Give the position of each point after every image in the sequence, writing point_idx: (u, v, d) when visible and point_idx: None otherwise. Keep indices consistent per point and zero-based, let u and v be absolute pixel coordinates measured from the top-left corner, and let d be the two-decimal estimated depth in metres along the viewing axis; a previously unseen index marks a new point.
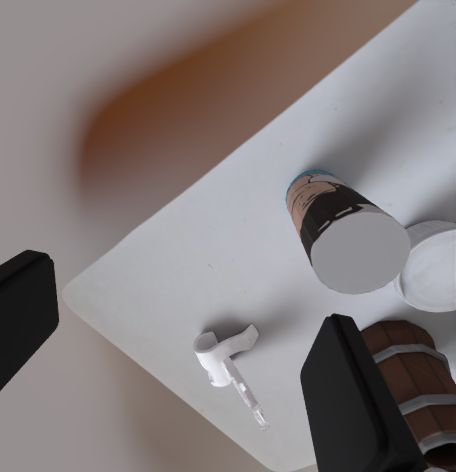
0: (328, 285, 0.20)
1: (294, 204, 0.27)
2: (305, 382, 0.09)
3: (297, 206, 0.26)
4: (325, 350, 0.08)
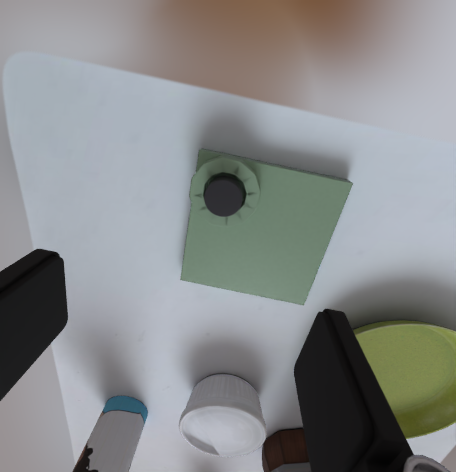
0: None
1: None
2: (298, 376, 0.09)
3: None
4: (317, 344, 0.08)
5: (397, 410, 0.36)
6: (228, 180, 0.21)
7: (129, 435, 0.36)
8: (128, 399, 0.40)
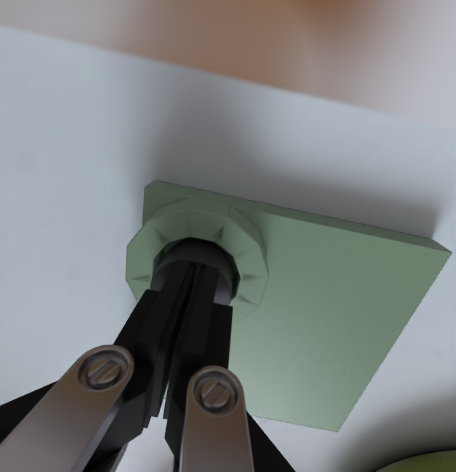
0: None
1: None
2: None
3: None
4: None
5: None
6: (200, 259, 0.10)
7: None
8: None
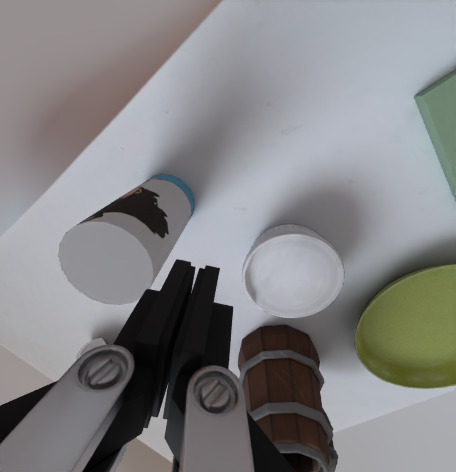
0: (89, 296, 0.20)
1: None
2: None
3: None
4: None
5: (395, 360, 0.39)
6: None
7: (185, 219, 0.28)
8: (188, 190, 0.31)
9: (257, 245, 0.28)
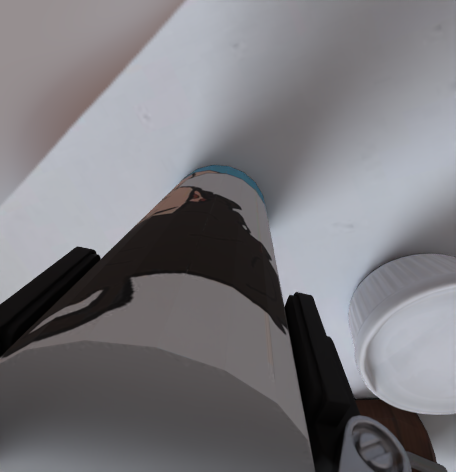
0: None
1: None
2: None
3: None
4: None
5: None
6: None
7: None
8: (260, 192, 0.18)
9: (402, 299, 0.15)
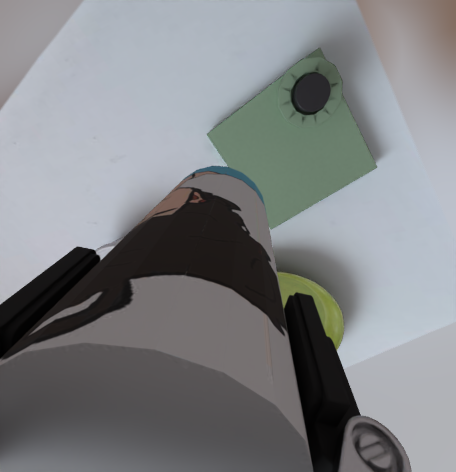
0: None
1: None
2: None
3: None
4: None
5: None
6: (328, 83, 0.25)
7: None
8: (260, 193, 0.18)
9: None
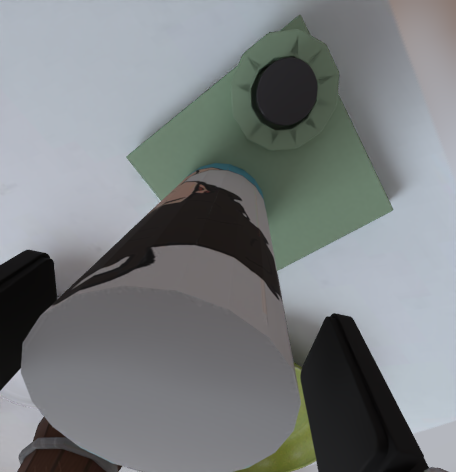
0: (106, 457, 0.08)
1: None
2: (305, 382, 0.09)
3: None
4: (325, 350, 0.08)
5: None
6: (314, 75, 0.14)
7: None
8: (260, 189, 0.19)
9: None
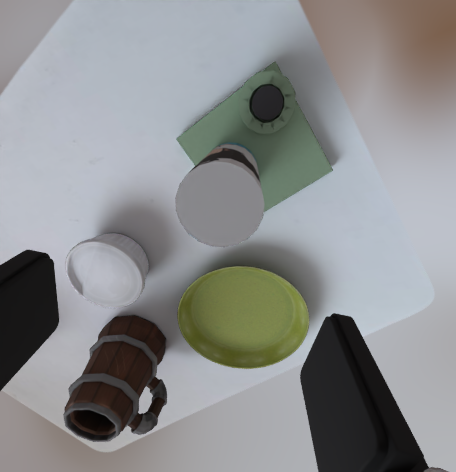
0: (197, 238, 0.21)
1: None
2: (305, 382, 0.09)
3: None
4: (325, 350, 0.08)
5: (227, 345, 0.47)
6: None
7: None
8: (254, 157, 0.32)
9: (70, 250, 0.36)
